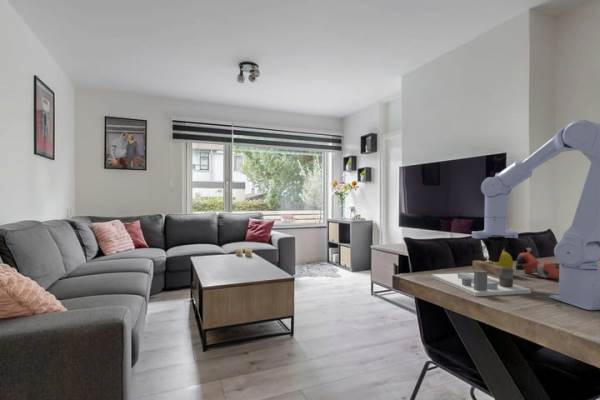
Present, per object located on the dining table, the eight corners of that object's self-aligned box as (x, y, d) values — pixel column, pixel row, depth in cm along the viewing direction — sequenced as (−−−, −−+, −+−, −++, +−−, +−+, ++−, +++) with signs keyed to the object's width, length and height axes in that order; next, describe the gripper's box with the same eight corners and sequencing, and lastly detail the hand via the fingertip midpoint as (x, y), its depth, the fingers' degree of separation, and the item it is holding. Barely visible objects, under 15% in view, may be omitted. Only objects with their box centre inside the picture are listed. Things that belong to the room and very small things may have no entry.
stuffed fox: (528, 251, 113) (570, 254, 103) (522, 280, 109) (565, 286, 99) (519, 240, 109) (562, 242, 99) (513, 270, 105) (557, 275, 95)
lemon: (516, 276, 103) (516, 252, 103) (499, 276, 103) (499, 251, 103) (505, 272, 109) (506, 249, 109) (489, 272, 109) (490, 249, 109)
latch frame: (530, 293, 85) (531, 271, 84) (475, 296, 81) (475, 273, 81) (478, 275, 103) (479, 257, 103) (431, 277, 100) (432, 258, 100)
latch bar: (515, 286, 86) (516, 270, 86) (505, 286, 86) (505, 270, 86) (480, 274, 99) (480, 260, 99) (471, 275, 99) (471, 260, 99)
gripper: (505, 216, 101) (504, 258, 101) (465, 216, 99) (464, 259, 99) (524, 218, 94) (523, 263, 95) (481, 217, 92) (480, 264, 92)
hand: (494, 261), depth 96 cm, fingers closed
